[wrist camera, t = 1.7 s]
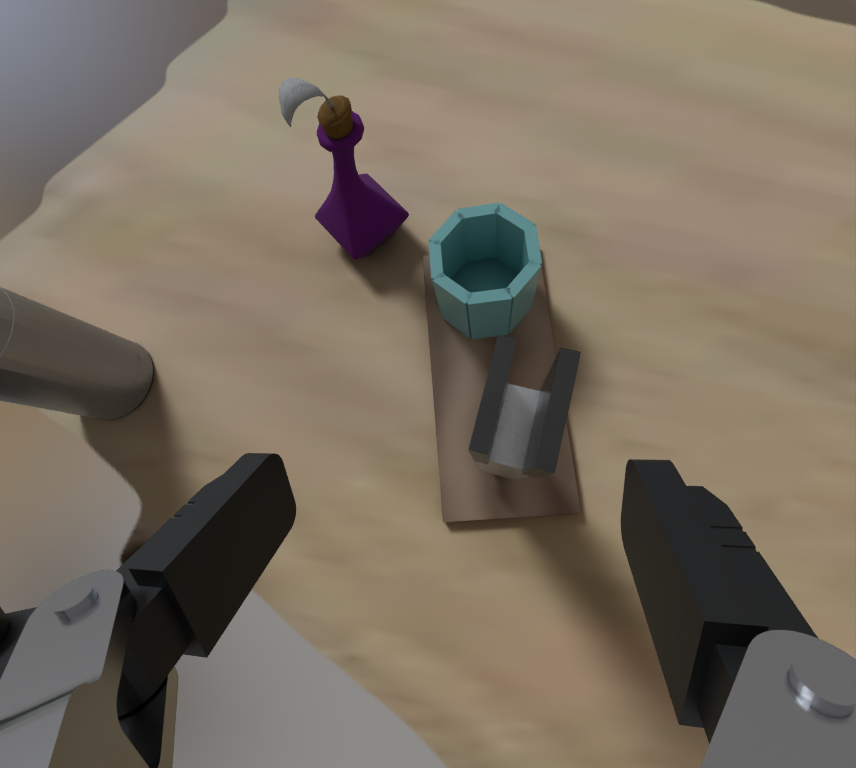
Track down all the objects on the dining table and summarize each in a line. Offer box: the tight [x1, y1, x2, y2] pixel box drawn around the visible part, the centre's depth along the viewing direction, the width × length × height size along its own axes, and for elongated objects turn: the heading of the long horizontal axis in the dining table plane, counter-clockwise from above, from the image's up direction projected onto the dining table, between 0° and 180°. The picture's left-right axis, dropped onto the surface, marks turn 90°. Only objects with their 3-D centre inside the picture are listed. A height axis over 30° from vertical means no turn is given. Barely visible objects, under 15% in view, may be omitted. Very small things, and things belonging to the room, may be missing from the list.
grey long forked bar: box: [468, 335, 581, 480], centre depth 26 cm, size 4×4×24 cm
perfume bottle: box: [279, 78, 409, 260], centre depth 38 cm, size 8×8×18 cm
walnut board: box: [423, 255, 581, 522], centre depth 40 cm, size 12×27×1 cm, turn 4°
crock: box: [429, 203, 542, 339], centre depth 38 cm, size 9×9×8 cm
